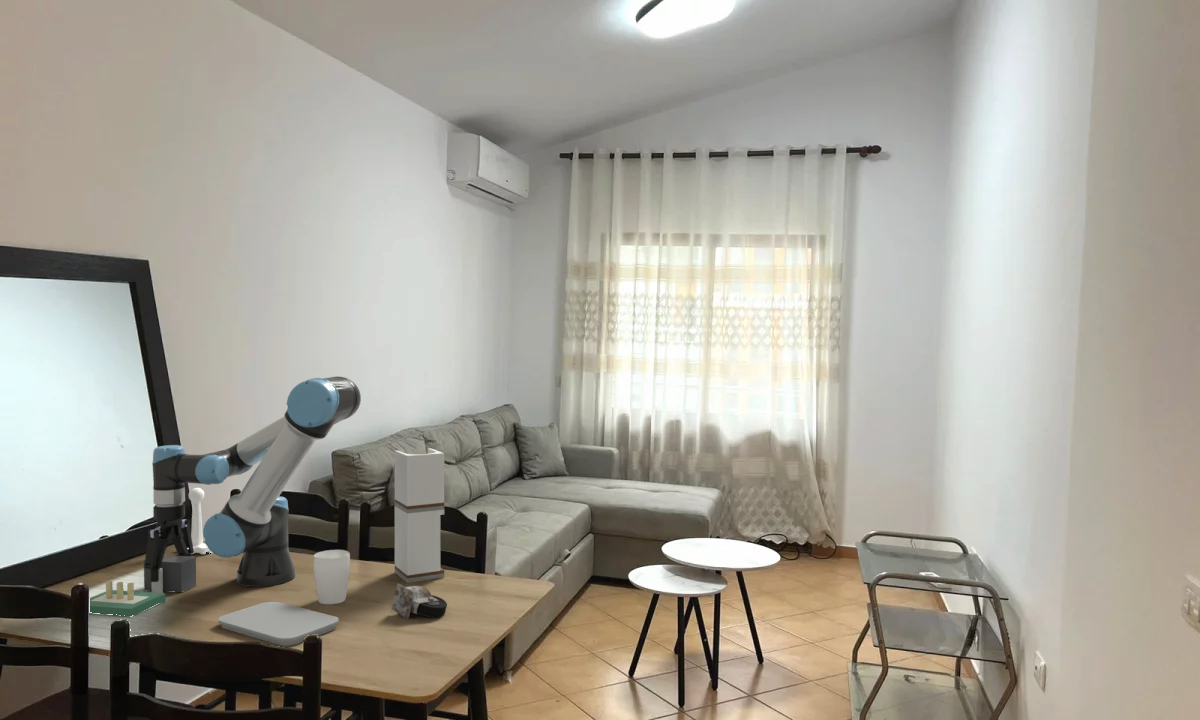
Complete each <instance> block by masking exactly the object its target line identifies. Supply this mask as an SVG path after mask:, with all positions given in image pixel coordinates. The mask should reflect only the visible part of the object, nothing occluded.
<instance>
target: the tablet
mask: <svg viewBox="0 0 1200 720" xmlns="http://www.w3.org/2000/svg"><path fill="white" fill-rule="evenodd" d="M217 620H218V621H217V622H218V624H220V625H221V628H222V629H225V630H226V631H232V632H235V633H238V634H242V635H245V636H249V637H252V638H255V639H259V640H262V641H265V642H267V643H268V642H269V643H273V644H276V645H279V646H288V647H289V646H294V645H298V644H300V643H302V642H304V641H303V640H304V638H305V637H306V636H307V635H312V634H318V636H321V635H323V634H324V635H325V634H326V633H328V632H331V631H333V630H335V629H336V625H338V624H339V621H340V620H339V616H338V617H337V616H334V615H330V614H328V613H327V614H326V613H323V612H318V611H315V610H313V609H307V608H303V607H300V606H297V605H296V606H295V605H292V604H288V603H283V602H279V601H266V602H260V603H258V604H255V605H252V606H249V607H245V608H242V609H239V610H236V611H233V612H229V613H227V614H224V615H220V616H219V617H218V619H217Z"/></svg>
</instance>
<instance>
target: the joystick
mask: <svg viewBox="0 0 1200 720" xmlns="http://www.w3.org/2000/svg"><path fill="white" fill-rule="evenodd" d="M204 498H205V491H204V490H203V489H202V488H201V487H194V488H192V489H190V491H189V492H188V499H189V500H190V501H191V503H192V512H191V513H192V514H191V516H192V517H191V530H190V533H191V538H192V544H193V549H194V552H193V553H192V554H193V555H194V554H200V555H206V554H208V553H209V554H208V555H211V554H210V553H212V554H214V553H213V552H211V551H210V549H209V548H208V547H207V545H206V543H205V542H204V536H203V525H202V524H203V523H202V522H203V521H202V520H203V518H202V504H201V503H202V501H203V500H204ZM187 549H189V548H187ZM206 552H207V553H206Z"/></svg>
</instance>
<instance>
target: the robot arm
mask: <svg viewBox="0 0 1200 720" xmlns="http://www.w3.org/2000/svg"><path fill="white" fill-rule="evenodd" d="M361 399H362V396H361V391H360V389H359V387H358V386H357V384H355V382H354V381H352V380H351V379H349V378H347V377H343V376H330V377H324V378H320V377H316V378H310V379H307V380H304V381H301V382H300V383H298V384H297V385H295V386H294V387H293V388H292V389H291V391H290V392H289V394H288V396H287V400H286V405H287V409H286V411H285V412H284V415H283V416H282V417H281V418H279V419H277V420H275V421H273V422H272V423H270V424H269V425H267V426H265V427H263V428H262V429H260V430H258V431H256V432H254V433H253V434H251V435H249V436H247V437H246V438H244V439H243V440H241V441H238V442H237V443H235V444H233V445H232V446H230V447H229V448H226V449H222V450H218V451H214V452H210V453H204V454H187V453H186V452H185V451H186V450H185V447H184V446H182V445H180V444H179V445H178V444H171V445H170V444H168V445H162V446H161V445H160V446H157V447H155V448H153V449H154V450H153V452H152V463H151V465H152V477H153V480H152V481H153V488H152V490H153V495H152V496H153V497H152V498H153V504H154V506H153V508H152V509H153V511H152V512H153V514H152V517H153V520H154V521H156V526H155V528H154V529H148V530H147V544H146V551H145V559H144V560H145V563H144V562H143V569H144V568H145V569H150V570H151V582H152V591H151V593H163V594H164V592H163V568H160V566H161V563H162V560H163V557H164V555H165V553H166V550H167V547H168V544H170V542H171V541H172V543H173V545H174V549H175V551H176V552H177V556H191V557H193V555H192V553H193V552H194V549H193V544H192V538H191V528H190V526H191V525H190V524H191V521H190V519H186V518H185V517H186V504H185V501H186V487H185V484H199V485H200V484H204V485H208V486H210V485H220V484H222V483H224V481H225V480H226V479H228V478H230V477H233V476H239V475H242V474H244V473H246V472H248V471H250V470H251V469H252V468H253V466H255V465H256V464H258V463H259V464H258V466H257V467H256V468H255V470H254V471H253V473H252V475H251V476H250V477H249V479H248V481H247V482H246V484H245V485H244V487H243V488H242V490H241V491H240V493H237V494H234V495H231V496H230V497H229V499H228V500H227V502H226V503H225V505H224V506H223V508H222V509H221V510H220V512H218V513H214V514H213V515H211V516H210V517H209V518H207V520H206V521H205V523H204V525H203V528H202V534H203V539H204V543H205V544H206V545H207V547H208V548H209V549H210V551H211V552H213V553H212V554H214V555H215V556H217V557H220V558H223V559H227V558H232V557H236V556H237V557H238V556H240V555H241V554H242V557H241V559H240V562H239V566H238V569H237V571H236V583H237V584H239V585H242V586H246V587H247V586H248V587H267V586H276V585H279V584H283V583H287V582H289V581H291V580H293V579H295V577H296V567H295V565H294V561H293V558H292V556H291V553H290V550H289V511H290V510H289V504H288V499H287V498H286V497H284V496H280V495H281V494H282V493H283V491H284V489H285V488H286V487H287V485H288V483H289V481H290V480H291V479H292V477H293V475H294V474H295V472H296V471H297V469H298V468H299V467H300V465H301V463H302V462H303V461H304V459H305V457H306V456H307V455H308V453H309V451H310V450H311V448H312V446H313V445H314V444H315V442H316V441H317V440H323V439H325V438H326V437H327V436H328V434H329V432H330V431H331V429H332V428H333V426H334V425H336V424H337V423H340V422H341V421H343V420H347V419H349V418H351V417H352V416H354V415H355V413H357V411H358V409H359V408H360V405H361V401H362V400H361ZM183 518H185V519H183ZM187 548H189V549H187Z"/></svg>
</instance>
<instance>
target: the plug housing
mask: <svg viewBox="0 0 1200 720" xmlns="http://www.w3.org/2000/svg"><path fill="white" fill-rule="evenodd" d="M144 563H145V559H144V560H143V564H144ZM160 568H163V591H175V592H183V591H185V592H187V591H189V590H191V589H193V588H195V587H194V586H196V587H197V556H192V557H191V556H179V555H172V554H171V555H170V554H164V557H163V560H162V563H161V566H160ZM192 587H193V588H192ZM190 588H191V589H190ZM188 589H189V590H188ZM145 590H152V582H151V570H150V569H145V568H144V567H143V591H145ZM186 590H187V591H186ZM183 593H184V592H183Z"/></svg>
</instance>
